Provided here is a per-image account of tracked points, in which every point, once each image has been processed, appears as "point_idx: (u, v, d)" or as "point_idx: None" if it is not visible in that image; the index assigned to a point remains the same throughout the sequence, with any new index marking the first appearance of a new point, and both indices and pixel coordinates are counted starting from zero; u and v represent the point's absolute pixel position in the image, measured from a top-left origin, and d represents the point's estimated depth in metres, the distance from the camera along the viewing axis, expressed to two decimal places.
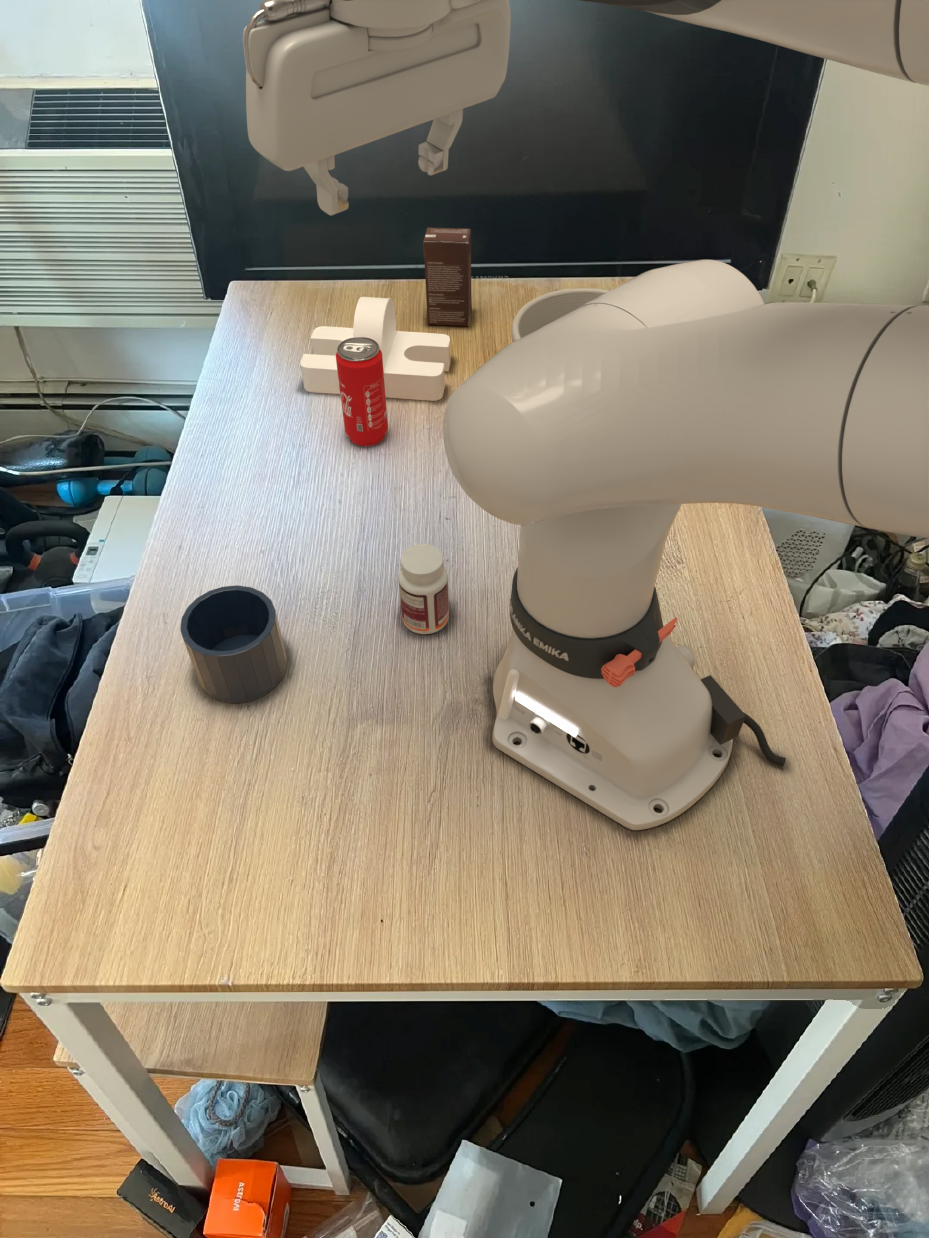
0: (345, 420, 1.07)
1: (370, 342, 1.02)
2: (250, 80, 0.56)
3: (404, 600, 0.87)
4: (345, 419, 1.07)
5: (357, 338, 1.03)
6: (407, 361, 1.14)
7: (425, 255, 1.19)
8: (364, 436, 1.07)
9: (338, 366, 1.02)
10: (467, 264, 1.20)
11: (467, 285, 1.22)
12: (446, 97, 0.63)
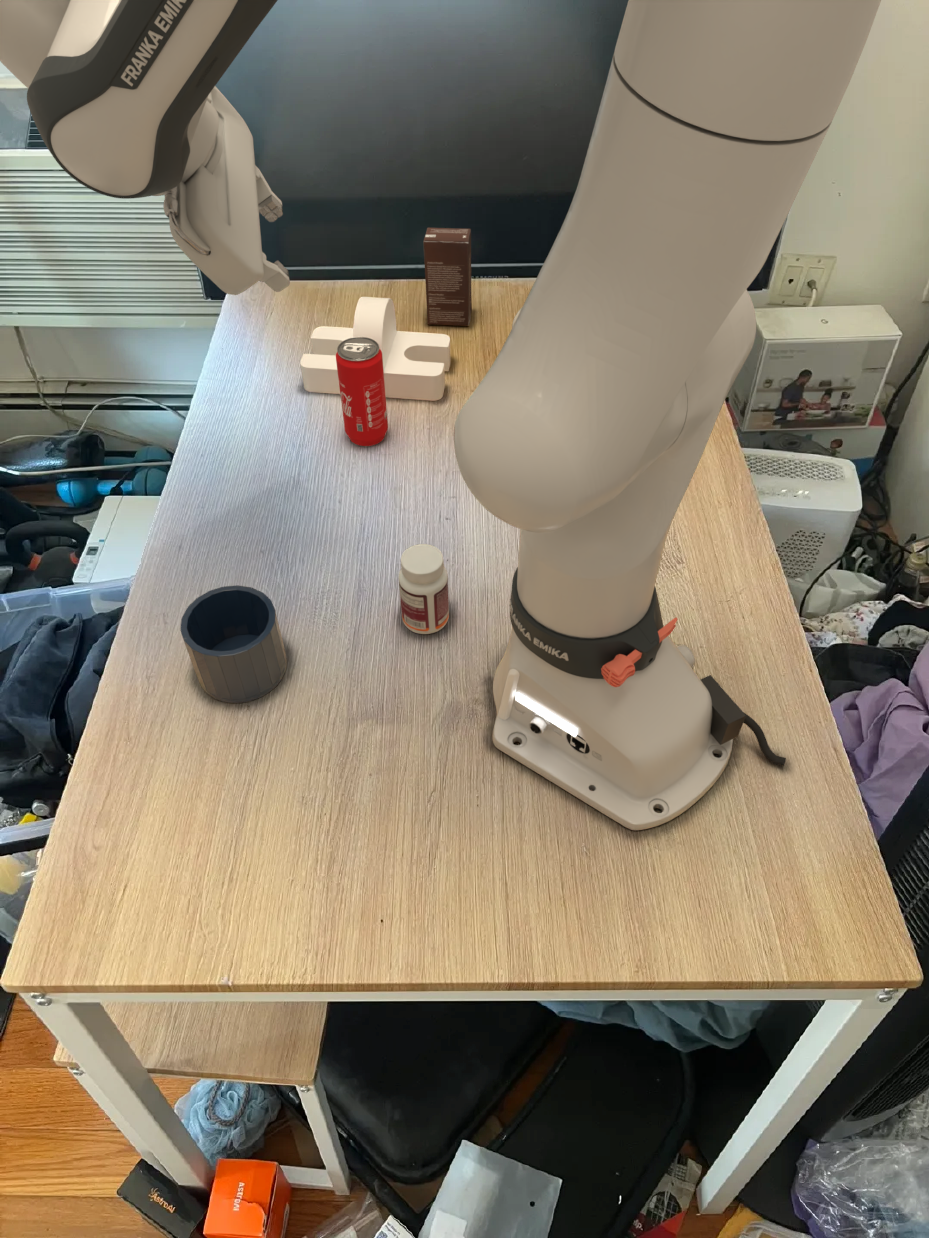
0: (345, 420, 1.07)
1: (370, 342, 1.02)
2: (199, 259, 0.73)
3: (404, 600, 0.87)
4: (345, 419, 1.07)
5: (357, 338, 1.03)
6: (407, 361, 1.14)
7: (425, 255, 1.19)
8: (364, 436, 1.07)
9: (338, 366, 1.02)
10: (467, 264, 1.20)
11: (467, 285, 1.22)
12: (247, 161, 0.81)
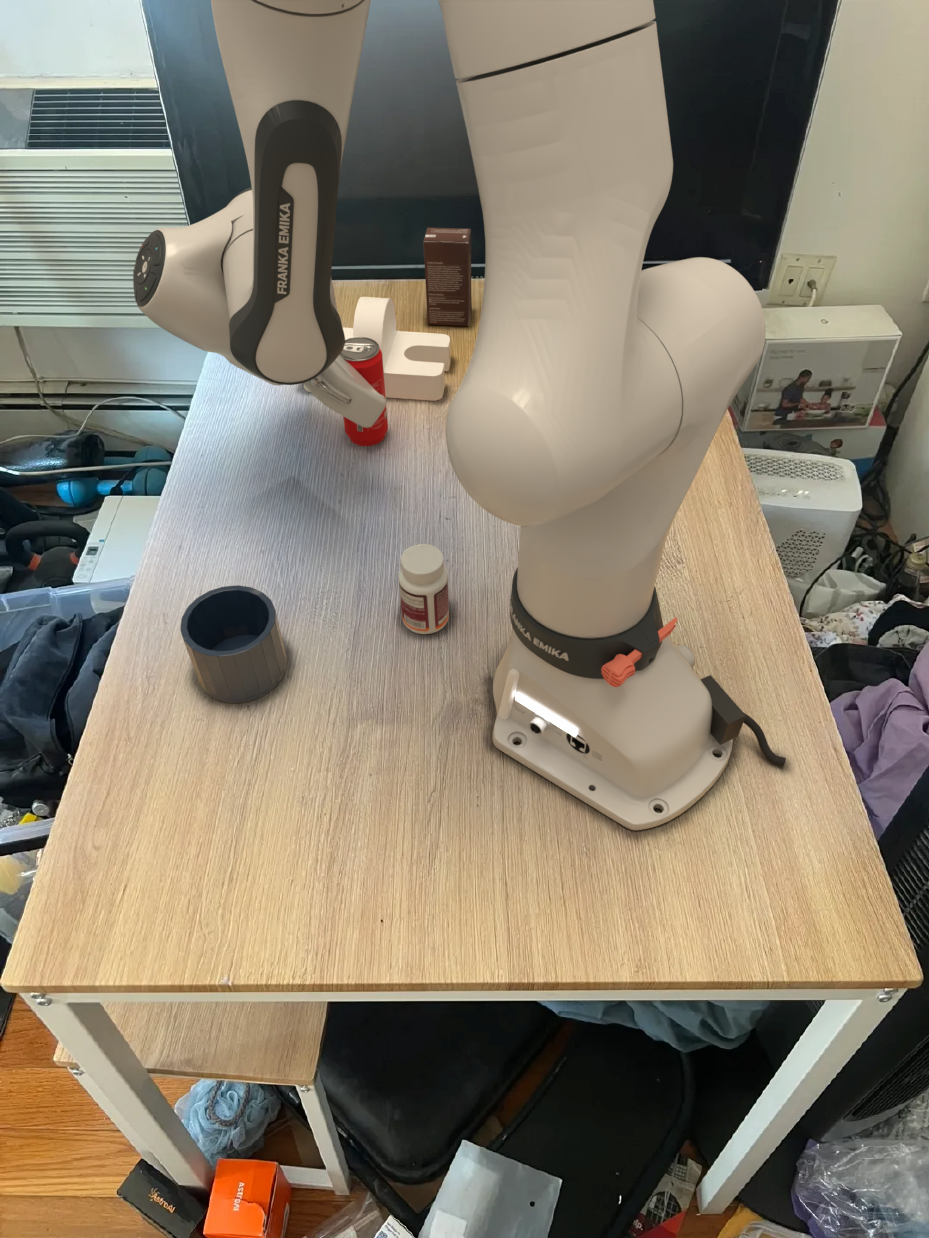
0: (345, 420, 1.07)
1: (370, 342, 1.02)
2: (344, 409, 0.93)
3: (404, 600, 0.87)
4: (345, 419, 1.07)
5: (357, 338, 1.03)
6: (407, 361, 1.14)
7: (425, 255, 1.19)
8: (364, 436, 1.07)
9: None
10: (467, 264, 1.20)
11: (467, 285, 1.22)
12: None
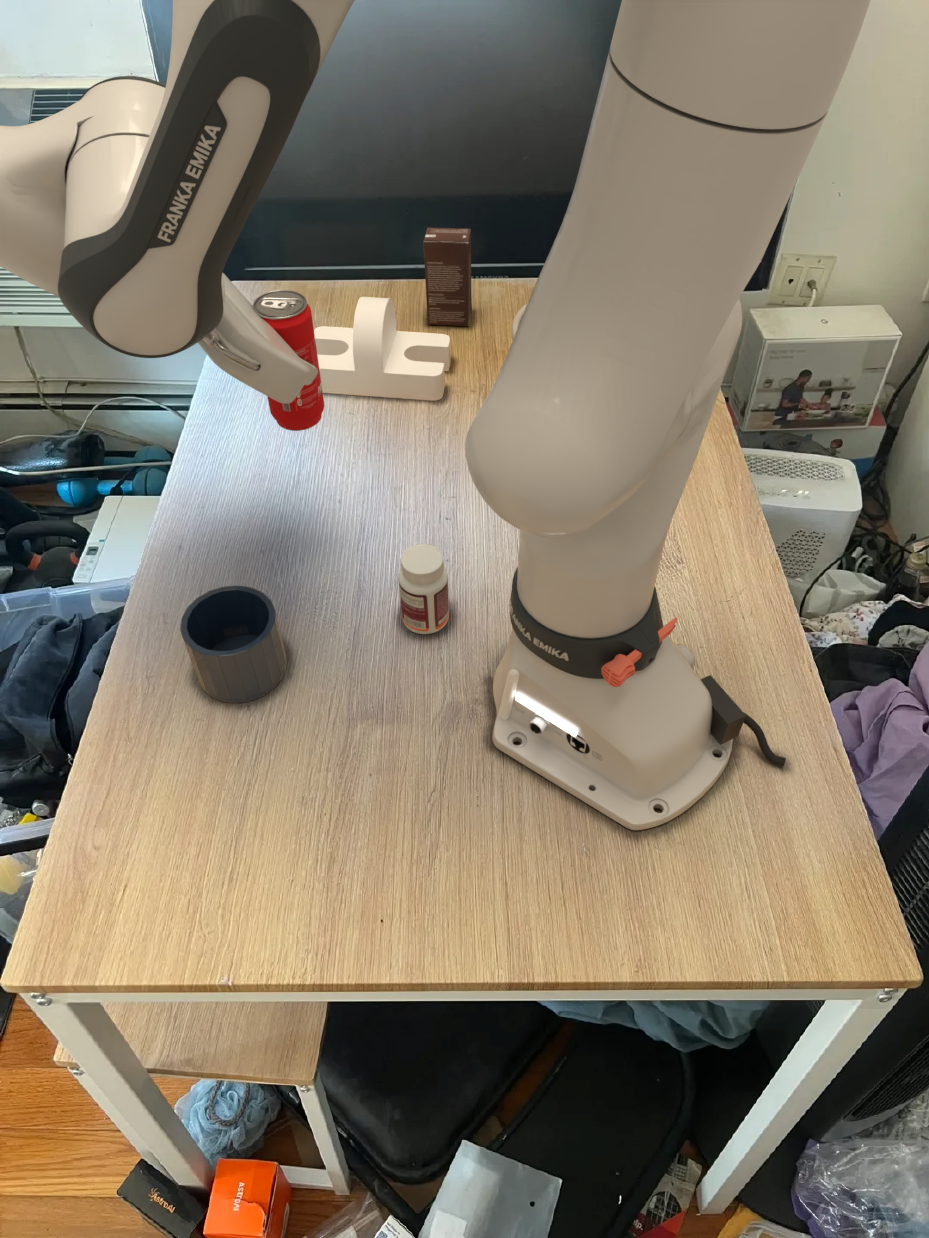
0: (268, 397, 0.85)
1: (296, 296, 0.80)
2: (251, 378, 0.71)
3: (404, 600, 0.87)
4: None
5: (279, 292, 0.81)
6: (407, 361, 1.14)
7: (425, 255, 1.19)
8: (293, 417, 0.85)
9: None
10: (467, 264, 1.20)
11: (467, 285, 1.22)
12: (235, 291, 0.81)
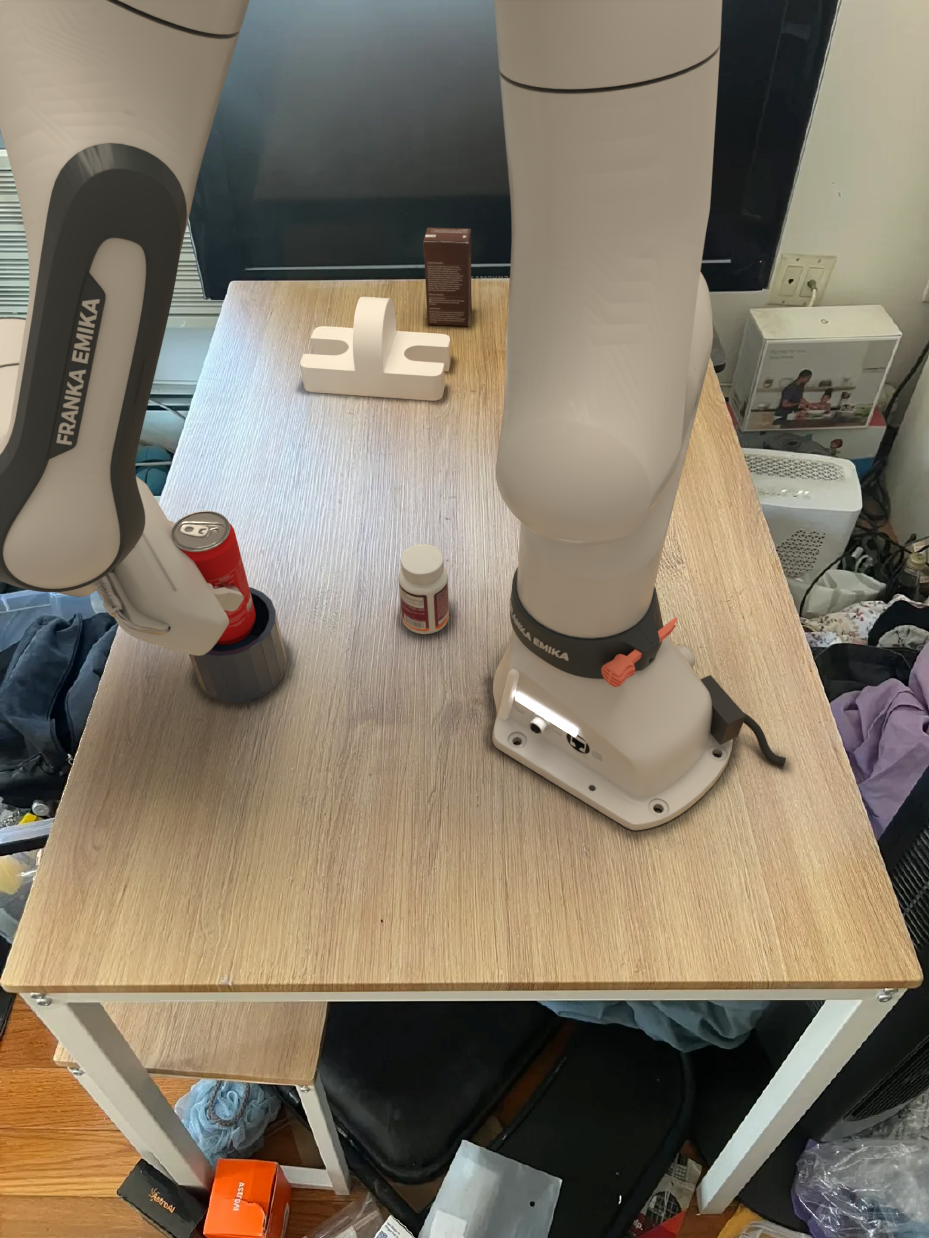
0: None
1: (219, 520, 0.74)
2: (161, 639, 0.65)
3: (404, 600, 0.87)
4: None
5: (201, 514, 0.75)
6: (407, 361, 1.14)
7: (425, 255, 1.19)
8: None
9: None
10: (467, 264, 1.20)
11: (467, 285, 1.22)
12: (154, 512, 0.75)
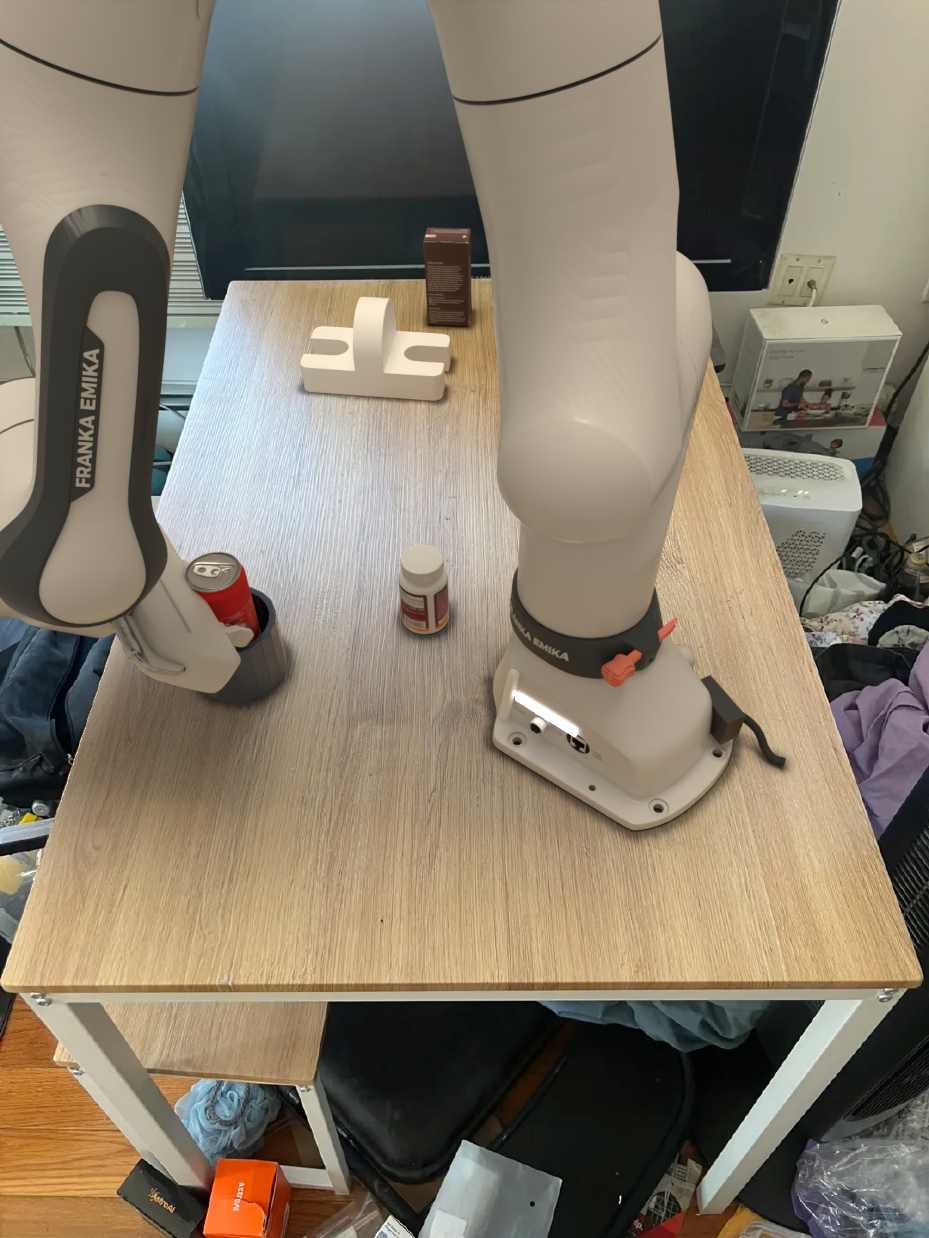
0: None
1: (230, 561, 0.78)
2: (176, 679, 0.69)
3: (404, 600, 0.87)
4: None
5: (213, 554, 0.78)
6: (407, 361, 1.14)
7: (425, 255, 1.19)
8: None
9: None
10: (467, 264, 1.20)
11: (467, 285, 1.22)
12: (168, 552, 0.79)
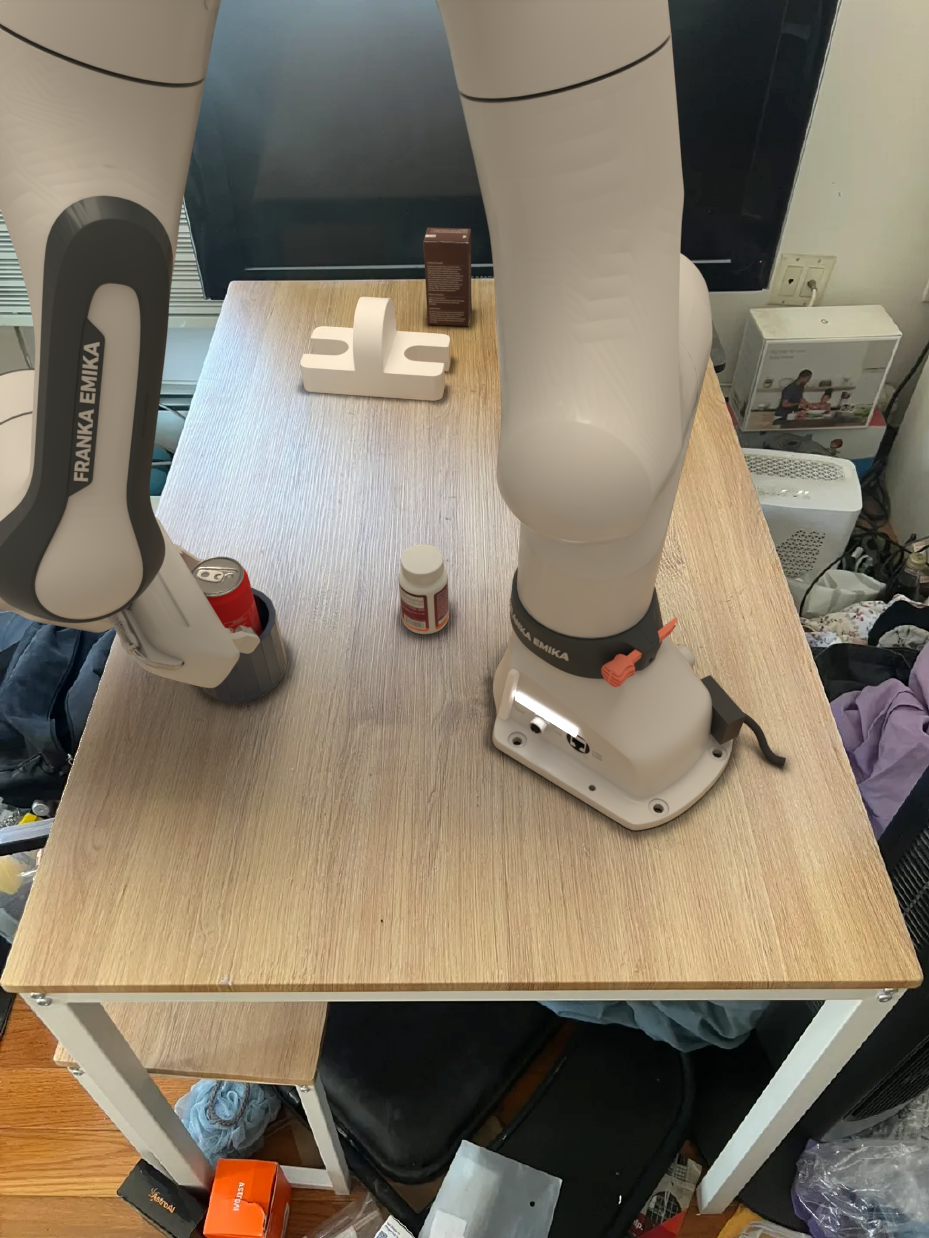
0: None
1: (233, 566, 0.78)
2: (175, 674, 0.69)
3: (404, 600, 0.87)
4: None
5: (217, 559, 0.79)
6: (407, 361, 1.14)
7: (425, 255, 1.19)
8: None
9: None
10: (467, 264, 1.20)
11: (467, 285, 1.22)
12: (167, 547, 0.78)
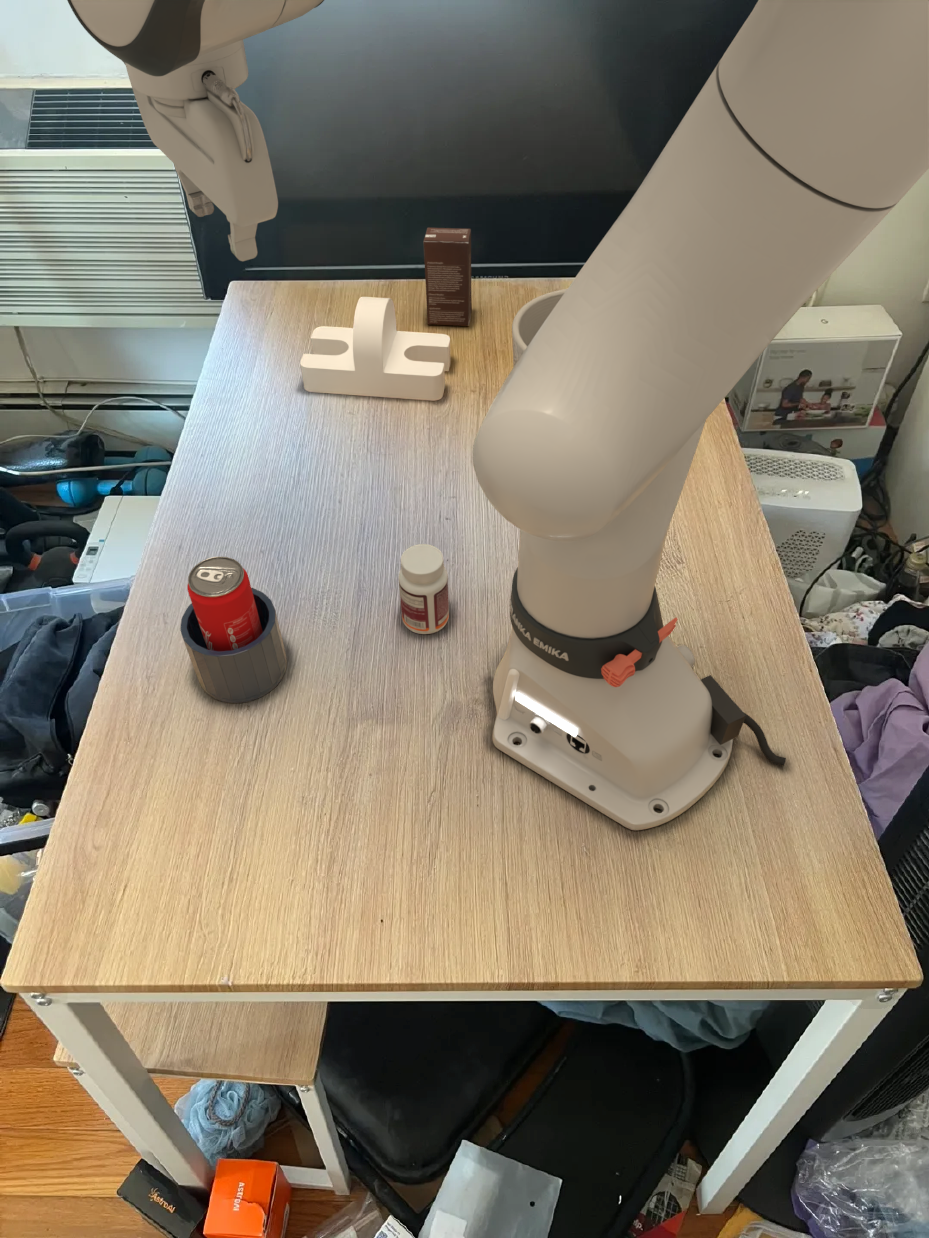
0: None
1: (233, 566, 0.78)
2: (235, 164, 0.66)
3: (404, 600, 0.87)
4: None
5: (217, 559, 0.79)
6: (407, 361, 1.14)
7: (425, 255, 1.19)
8: None
9: (190, 598, 0.78)
10: (467, 264, 1.20)
11: (467, 285, 1.22)
12: None
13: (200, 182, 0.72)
